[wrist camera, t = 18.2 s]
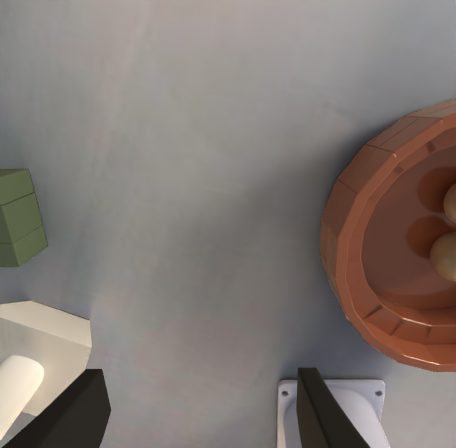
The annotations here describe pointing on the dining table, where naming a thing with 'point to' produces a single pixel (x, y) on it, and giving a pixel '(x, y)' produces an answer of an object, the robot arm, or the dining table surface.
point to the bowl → (396, 239)
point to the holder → (19, 219)
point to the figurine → (38, 357)
